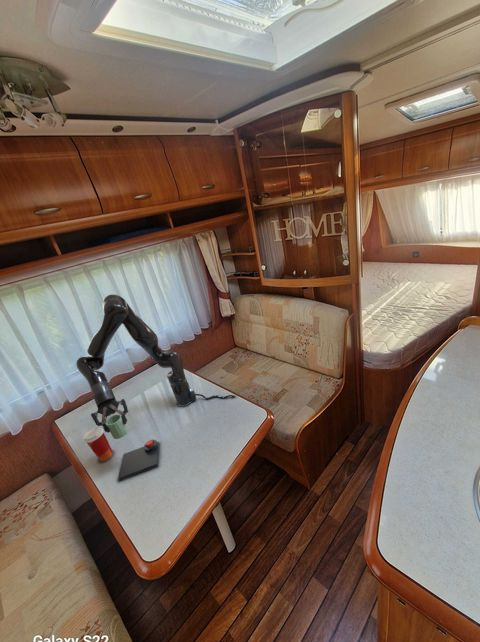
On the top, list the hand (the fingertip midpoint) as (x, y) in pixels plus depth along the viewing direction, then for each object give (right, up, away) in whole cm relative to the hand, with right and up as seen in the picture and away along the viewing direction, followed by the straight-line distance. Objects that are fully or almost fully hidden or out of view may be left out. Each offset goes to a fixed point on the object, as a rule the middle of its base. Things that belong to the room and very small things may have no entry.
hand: (116, 427), depth 116 cm
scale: (+7, -18, +7) cm, 20 cm away
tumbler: (0, -4, +3) cm, 5 cm away
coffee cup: (-12, -19, +14) cm, 26 cm away
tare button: (+10, -12, +11) cm, 19 cm away
